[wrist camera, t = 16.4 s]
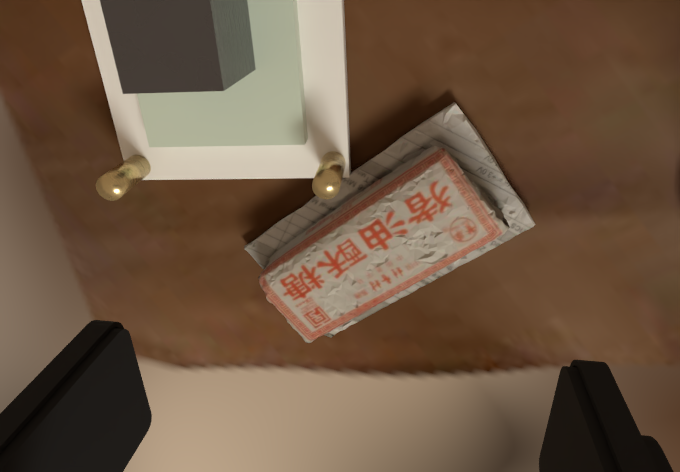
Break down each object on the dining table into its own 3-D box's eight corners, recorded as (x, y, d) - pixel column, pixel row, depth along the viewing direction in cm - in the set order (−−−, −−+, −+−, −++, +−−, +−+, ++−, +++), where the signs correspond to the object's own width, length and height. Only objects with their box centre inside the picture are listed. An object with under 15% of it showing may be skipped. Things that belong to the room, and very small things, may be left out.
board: (282, -185, 24) (241, -242, 18) (307, 139, 31) (285, 180, 25) (88, -167, 25) (-17, -215, 19) (157, 141, 32) (99, 182, 26)
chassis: (333, -251, 23) (318, -306, 19) (350, 171, 33) (343, 202, 29) (36, -220, 25) (-43, -263, 21) (136, 173, 35) (97, 203, 30)
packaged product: (320, 370, 36) (227, 274, 33) (328, 329, 40) (246, 240, 37) (551, 249, 30) (463, 115, 27) (532, 214, 34) (454, 96, 31)
